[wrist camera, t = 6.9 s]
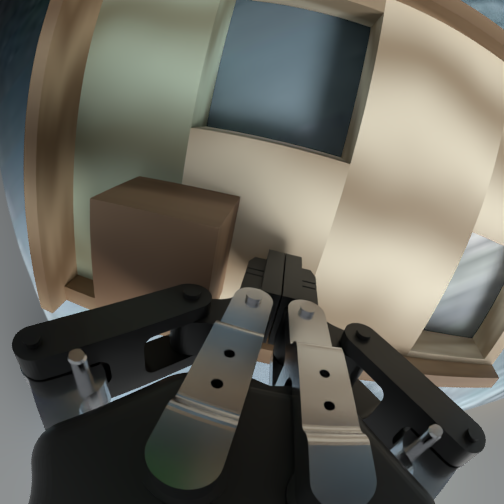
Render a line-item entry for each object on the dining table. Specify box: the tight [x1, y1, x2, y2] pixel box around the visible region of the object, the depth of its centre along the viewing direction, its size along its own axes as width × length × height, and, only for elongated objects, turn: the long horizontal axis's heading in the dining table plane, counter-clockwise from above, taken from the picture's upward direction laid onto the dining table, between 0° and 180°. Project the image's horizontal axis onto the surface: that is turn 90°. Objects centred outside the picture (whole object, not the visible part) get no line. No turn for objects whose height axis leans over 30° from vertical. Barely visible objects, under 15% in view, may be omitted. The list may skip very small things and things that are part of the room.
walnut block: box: [90, 176, 240, 333], centre depth 12 cm, size 5×5×4 cm
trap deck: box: [24, 0, 504, 388], centre depth 12 cm, size 20×31×6 cm, turn 78°
